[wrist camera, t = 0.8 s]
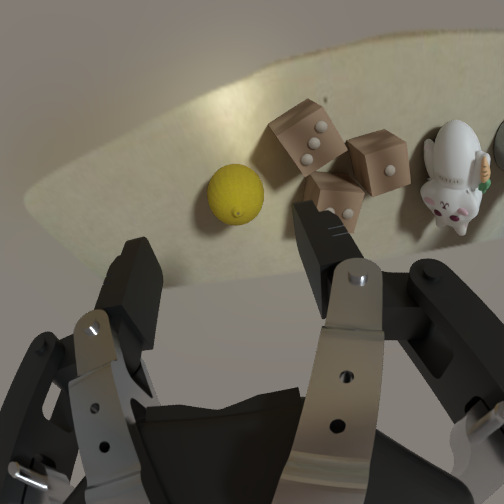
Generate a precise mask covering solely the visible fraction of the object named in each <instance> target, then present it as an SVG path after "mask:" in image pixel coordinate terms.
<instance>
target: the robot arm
mask: <svg viewBox="0 0 504 504" xmlns="http://www.w3.org/2000/svg"><path fill="white" fill-rule="evenodd" d="M494 156H495V160H496V163H497V165H498V166H499V167H500V168H501V169H502V170H504V122H503V123H502V124H501V126H500V128H499V130H498V132H497V135H496V138H495V144H494ZM292 212H293V220H294V227H295V235H296V242H297V247H298V251H299V254H300V257H301V260H302V263H303V265H304V268H305V271H306V274H307V277H308V279H309V282H310V285H311V288H312V291H313V294H314V297H315V300H316V303H317V305H318V309H319V311H320V314H321V317H322V319H325V318H326V322H325V326H322V329H321V332H320V337H319V341H318V347H317V351H316V356H315V360H314V364H313V369H312V373H311V378H310V382H309V386H308V390H307V394H306V397H300V393H299V388H298V387H297V388H292V389H287V390H282V391H276V392H271V393H266V394H261V395H257V396H254V397H252V398H249V399H247V400H244V401H242V402H239V403H237V404H234V405H231V406H229V407H226V408H224V409H220V410H212V409H205V408H199V407H192V406H185V405H168V406H161V404H160V402H159V400H158V398H157V395H156V392H155V390H154V387H153V385H152V382H151V379H150V376H149V373H148V371H147V368H146V365H145V363H144V361H143V360H142V358H141V352H142V351H144V350H152V349H153V346H154V339H155V331H156V324H157V317H158V311H159V304H160V298H161V292H162V286H163V274H162V270H161V267H160V265H159V263H158V261H157V258H156V256H155V254H154V252H153V250H152V248H151V246H150V243H149V241H148V240H147V238H146V237H140V238H136V239H132V240H128V241H126V243H125V245H124V248H123V250H122V253H121V255H120V256H117V257H116V259H115V260H114V261H113V262H112V264H111V265H110V267H109V269H108V272H107V275H106V276H107V277H105V280H104V283H103V284H104V285H102V288H101V291H100V294H99V297H98V300H97V303H96V305H95V308H94V310H92V311H90V312H88V313H86V314H85V315H83V316H82V317H81V318H80V319H79V320H78V322H77V324H76V326H75V328H74V334H72V335H70V336H67V337H65V338H63V339H61V340H59V339H58V338H57V337H56V336H55V335H54V334H53V333H52V332H44V333H41V334H40V335H38V336H37V337H36V338H35V339H34V340H33V342H32V343H31V345H30V347H29V348H28V350H27V352H26V354H25V356H24V358H23V361H22V362H21V365H20V367H19V369H18V371H17V373H16V375H15V377H14V380H13V382H12V384H11V386H10V389H9V391H8V393H7V396H6V398H5V401H4V403H3V406H2V408H1V411H0V504H482V503H483V502H484V501H485V500H486V499H487V498H489V496H491V495H492V494H493V493H494V492H495V491H496V490H497V489H499V488H500V487H501V486H502V485H503V484H504V324H503V323H502V322H501V321H500V320H499V319H498V317H497V316H496V315H495V314H494V313H493V312H492V311H491V310H490V309H489V308H488V307H487V305H485V303H483V301H482V300H481V299H480V298H479V297H478V296H477V295H476V294H475V293H474V292H473V291H472V290H471V289H470V288H469V287H468V286H467V285H466V284H465V283H464V282H463V281H462V280H461V279H460V278H459V277H458V276H457V275H456V274H455V273H454V272H453V271H452V270H451V269H450V268H449V267H448V266H447V265H445V264H444V263H442V262H440V261H438V260H435V259H421V260H418V261H416V262H415V263H413V264H412V266H411V268H410V272H409V273H391V272H384V271H381V269H380V268H379V266H378V265H377V264H376V263H374V262H372V261H371V260H368V259H364V257H363V255H362V254H361V252H360V250H359V249H358V247H357V245H356V244H355V242H354V240H353V239H352V237H351V236H350V234H348V231H347V229H346V227H345V226H344V224H343V223H342V221H341V219H340V218H339V216H337V215H336V214H334V213H332V212H331V211H329V210H325V211H320V212H319V211H318V209H317V207H316V206H315V204H314V202H313V201H312V200H307V201H302V202H296V203H292ZM384 340H398V342H399V343H400V345H401V346H402V347H403V349H404V350H405V352H406V353H407V354H408V356H409V357H410V358H411V360H412V361H413V363H414V364H415V366H416V367H417V369H418V370H419V371H420V373H421V374H422V376H423V377H424V379H425V380H426V382H427V383H428V385H429V386H430V388H431V389H432V391H433V392H434V394H435V395H436V396H437V398H438V400H439V401H440V403H441V404H442V406H443V407H444V409H445V410H446V411H447V413H448V415H449V416H450V418H451V420H452V421H453V423H454V424H455V425H454V427H453V428H452V431H451V435H450V446H451V449H452V452H453V454H454V467H453V470H452V472H451V474H449V473H447V472H446V471H444V470H442V469H440V468H439V467H437V466H435V465H434V464H432V463H430V462H428V461H427V460H425V459H423V458H422V457H420V456H418V455H417V454H415V453H414V452H412V451H410V450H409V449H407V448H405V447H404V446H402V445H401V444H399V443H397V442H396V441H394V440H393V439H391V438H390V437H388V436H386V435H385V434H383V433H382V432H380V431H379V430H377V429H376V425H377V417H378V410H379V401H380V392H381V382H382V370H383V355H384ZM52 382H53V383H54V384H56V385H57V386H58V387H59V388H60V389H61V392H60V395H59V397H58V400H57V402H56V405H55V408H54V410H53V413H52V416H51V419H50V420H47V419H46V418H45V417H44V415H43V412H42V406H43V403H44V400H45V398H46V395H47V393H48V391H49V388H50V385H51V383H52ZM78 450H79V451H80V456H81V460H82V464H83V468H84V471H85V477H84V478H83V479H82V481H81V482H80V483H79V484H78V485H77V487H76V488H74V487H73V486H70V480H71V476H72V472H73V468H74V464H75V461H76V457H77V454H78Z"/></svg>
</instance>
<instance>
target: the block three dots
mask: <svg viewBox="0 0 504 504" xmlns="http://www.w3.org/2000/svg"><path fill="white" fill-rule="evenodd" d="M268 125H269V126H270V128H271V129H272V131H273V132H274V134H275V135H276V137H277V138H278V139H279V141H280V142H281V144H282V145H283V146H284V148H285V149H286V151H287V152H288V153H289V155H290V156H291V158H292V159H293V161H294V162H295V164H296V165H297V166H298V168H299V169H300V171H301V172H302V174H303V175H304V177H306V176H308V175H309V174H311V173H313V172H314V171H316V170H317V169H319V168H320V167H322V166H324V165H325V164H327V163H328V162H330V161H331V160H333V159H335V158H336V157H338V156H339V155H341V154H343V153H344V152H346V151H347V150H348V149H347V147H346V146H345V144H344V142H343V140H342V138H341V137H340V135H339V133H338V131H337V130H336V128H335V126H334V125H333V123H332V121H331V120H330V118H329V116H328V115H327V113H326V111H325V110H324V108H323V107H322V106H320V105H319V104H317V103H315V102H313V101H311V100H309V99H306V100H305V101H303V102H301V103H300V104H298V105H297V106H295V107H293V108H292V109H290V110H289V111H287V112H286V113H284V114H282V115H281V116H279V117H278V118H276V119H275V120H273V121H272V122H270V123H269V124H268Z"/></svg>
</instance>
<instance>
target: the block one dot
mask: <svg viewBox="0 0 504 504" xmlns="http://www.w3.org/2000/svg"><path fill="white" fill-rule="evenodd" d="M347 145H348V149H349V153H350V157H351V162H352V166H353V171H354V176H355V179H356V180H357V181H358V182H359V183H360V184H361V185H362V186H363V187H364V189H365V190H366V191H367V192H368V193H369V194H370V195H371V196H372V197H374V196H377V195H380V194H383V193H386V192H389V191H391V190H394V189H397V188H400V187H403V186H406V185H409V184H411V179H410V169H409V160H408V151H407V143H406V142H405V141H403V140H402V139H400V138H398V137H397V136H395V135H394V134H392V133H390V132H388V131H387V130H385V129H383V130H379V131H376V132H372V133H369V134H366V135H362V136H359V137H356V138H352V139H349V140H347Z"/></svg>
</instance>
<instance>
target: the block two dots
mask: <svg viewBox="0 0 504 504" xmlns="http://www.w3.org/2000/svg"><path fill="white" fill-rule="evenodd" d="M364 195H365V193H364V192H363V191H362V189H361V188H360V187H359V186H358V185H357V184H356V183H355V182H354V180H353V179H352V178H351V177H350V176H349V175H348V174H339V173H329V172H317V171H314V172H313V173H311V174H309V175H308V176H307V178H306V184H305V190H304V195H303V201H307V200H312V201H313V202H314V204H315V206H316V207H317V209H318V211H319V212H320V211H325V210H329V211H331V212H332V213H334V214H336V215H337V216H339V218H340V219H341V221H342V223H343V224H344V226H345V227H346V229H347V231H348V233H354V230H355V226H356V223H357V219H358V216H359V213H360V209H361V205H362V202H363V198H364Z"/></svg>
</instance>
